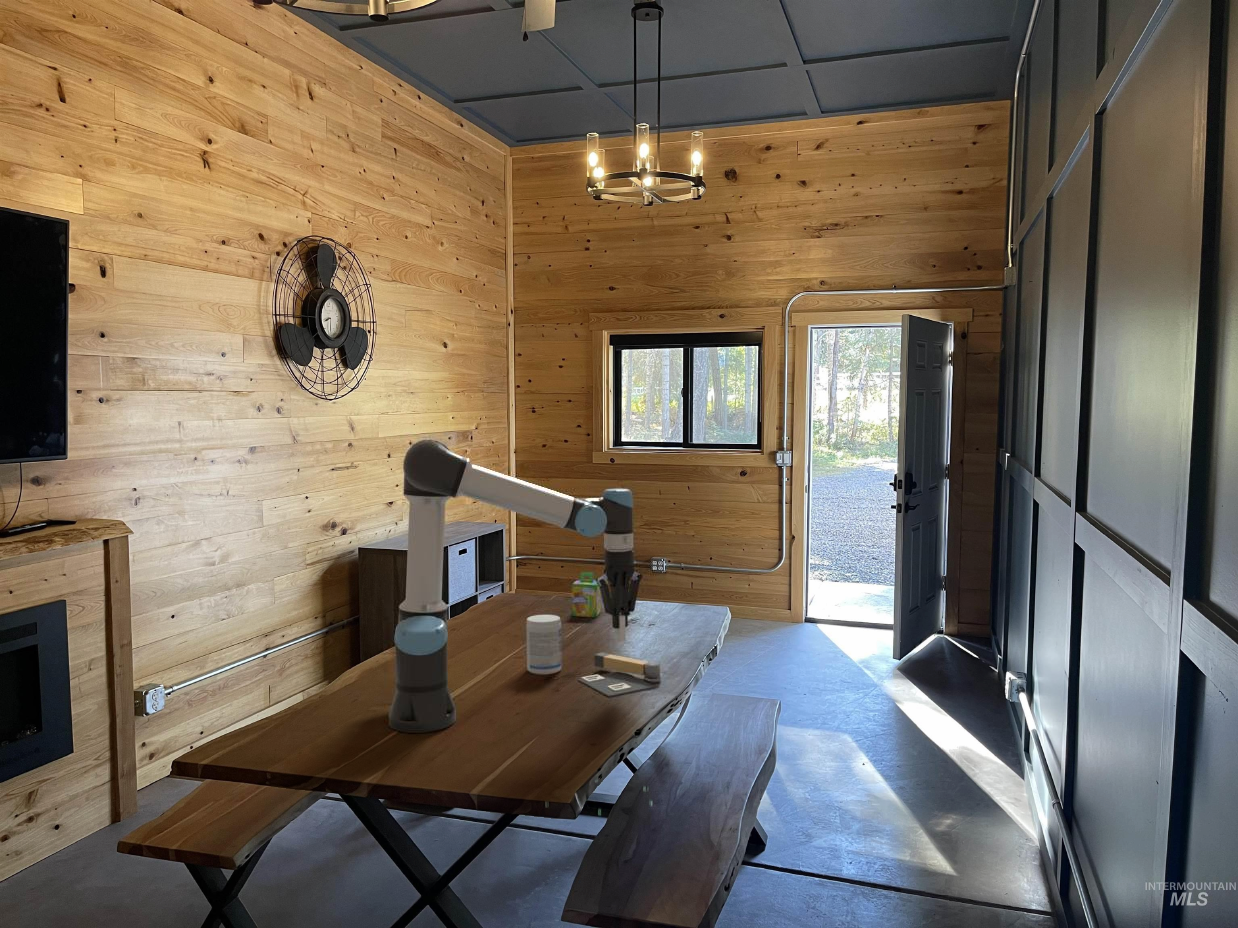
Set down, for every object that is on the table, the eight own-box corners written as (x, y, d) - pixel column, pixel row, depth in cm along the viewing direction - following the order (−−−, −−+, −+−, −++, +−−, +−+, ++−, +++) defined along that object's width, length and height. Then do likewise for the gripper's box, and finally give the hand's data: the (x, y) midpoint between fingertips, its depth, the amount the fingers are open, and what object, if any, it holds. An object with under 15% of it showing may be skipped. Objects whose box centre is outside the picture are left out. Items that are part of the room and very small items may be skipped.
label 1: (588, 683, 229) (588, 680, 229) (581, 679, 233) (581, 676, 233) (604, 680, 232) (604, 677, 232) (597, 676, 235) (597, 673, 235)
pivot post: (650, 684, 228) (650, 680, 228) (640, 680, 232) (640, 675, 232) (663, 681, 231) (663, 677, 231) (654, 677, 234) (654, 673, 234)
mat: (608, 697, 219) (608, 695, 219) (578, 680, 232) (578, 678, 232) (655, 687, 226) (655, 686, 226) (622, 672, 239) (622, 670, 239)
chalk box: (571, 616, 304) (570, 574, 303) (576, 610, 313) (576, 570, 312) (596, 617, 303) (596, 575, 302) (601, 611, 312) (601, 570, 311)
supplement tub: (567, 671, 240) (567, 619, 239) (537, 677, 235) (536, 623, 234) (550, 663, 248) (550, 612, 247) (520, 668, 243) (520, 616, 242)
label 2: (614, 692, 222) (614, 689, 222) (606, 688, 225) (606, 685, 225) (631, 689, 224) (631, 686, 224) (623, 685, 228) (623, 682, 228)
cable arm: (593, 666, 240) (593, 654, 240) (602, 662, 243) (602, 651, 243) (654, 679, 229) (654, 667, 228) (662, 675, 232) (662, 663, 232)
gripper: (604, 553, 216) (606, 647, 218) (648, 548, 223) (649, 639, 224) (589, 549, 222) (591, 640, 224) (632, 544, 229) (633, 633, 231)
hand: (620, 639), depth 224 cm, fingers closed
